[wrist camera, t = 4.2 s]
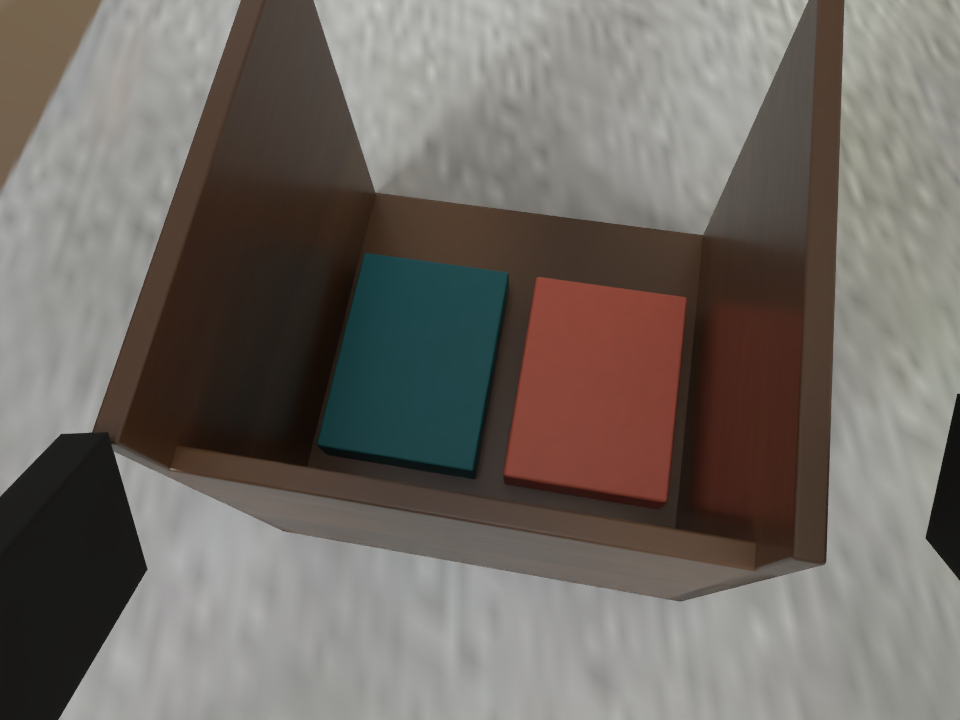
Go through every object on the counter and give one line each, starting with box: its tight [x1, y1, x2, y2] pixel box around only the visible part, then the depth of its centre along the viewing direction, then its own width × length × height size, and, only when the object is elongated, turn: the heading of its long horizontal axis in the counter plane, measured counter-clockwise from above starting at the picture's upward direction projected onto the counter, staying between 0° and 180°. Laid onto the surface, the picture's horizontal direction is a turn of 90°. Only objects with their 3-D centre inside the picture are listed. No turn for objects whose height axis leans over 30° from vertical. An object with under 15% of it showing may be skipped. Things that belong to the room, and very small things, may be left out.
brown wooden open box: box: [92, 0, 844, 601], centre depth 19 cm, size 12×11×11 cm
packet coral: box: [503, 277, 687, 509], centre depth 23 cm, size 4×6×1 cm
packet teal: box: [317, 253, 509, 479], centre depth 23 cm, size 4×6×1 cm
